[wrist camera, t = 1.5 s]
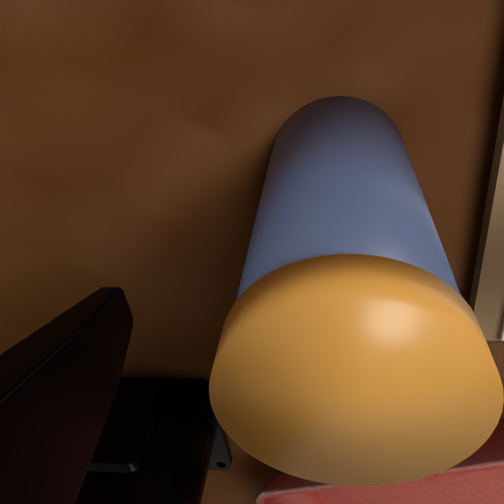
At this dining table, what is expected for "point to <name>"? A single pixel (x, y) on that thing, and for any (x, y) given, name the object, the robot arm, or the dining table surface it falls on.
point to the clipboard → (491, 251)
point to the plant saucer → (407, 484)
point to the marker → (351, 316)
